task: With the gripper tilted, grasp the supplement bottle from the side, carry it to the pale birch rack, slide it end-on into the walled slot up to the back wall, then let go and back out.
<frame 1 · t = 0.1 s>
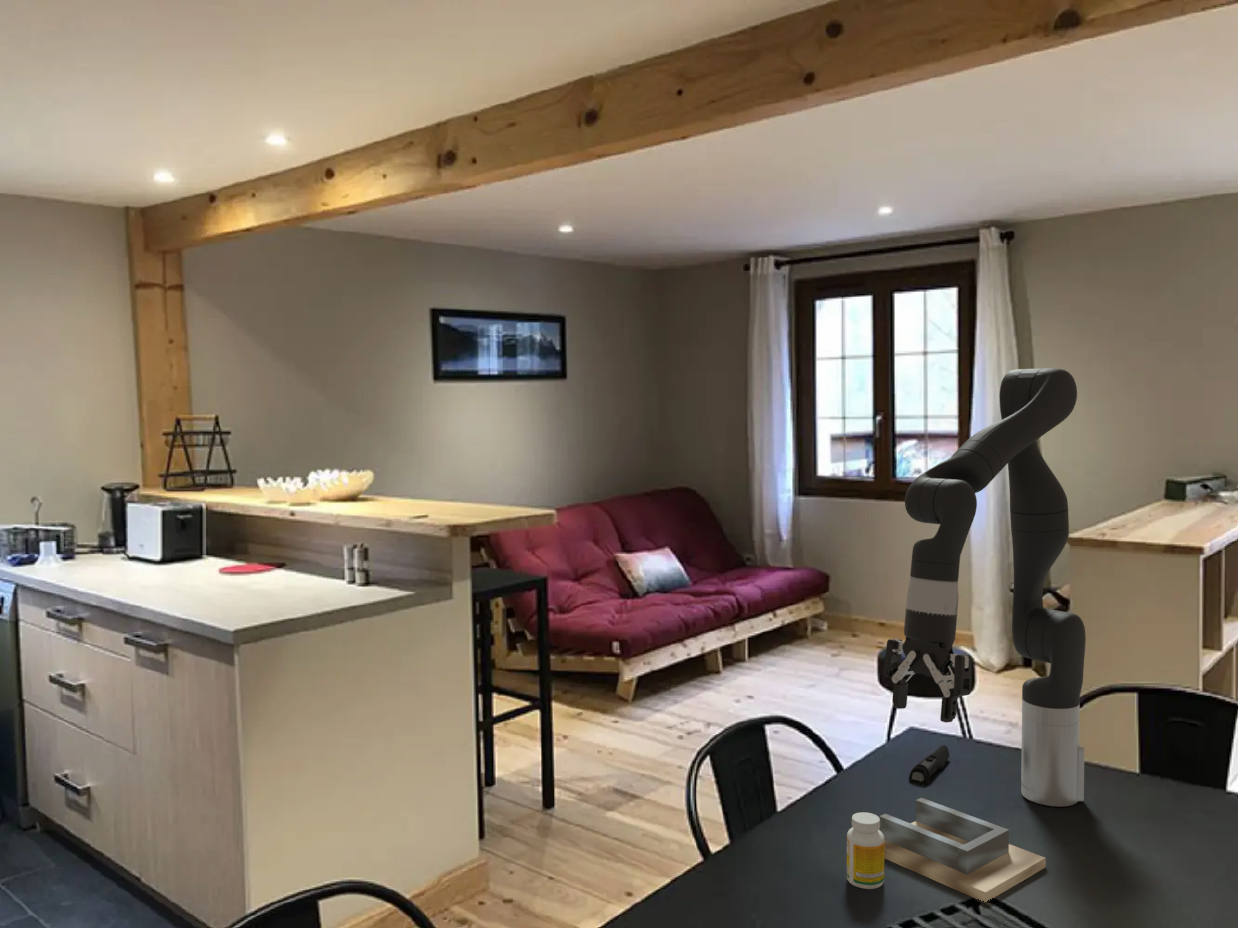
hand: (922, 714, 149), 22 cm above the table, tool pointing down, fingers open, 8 cm apart
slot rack: (955, 859, 149), on the table
electric trimmer: (929, 772, 185), on the table
supplement bottle: (865, 882, 143), on the table
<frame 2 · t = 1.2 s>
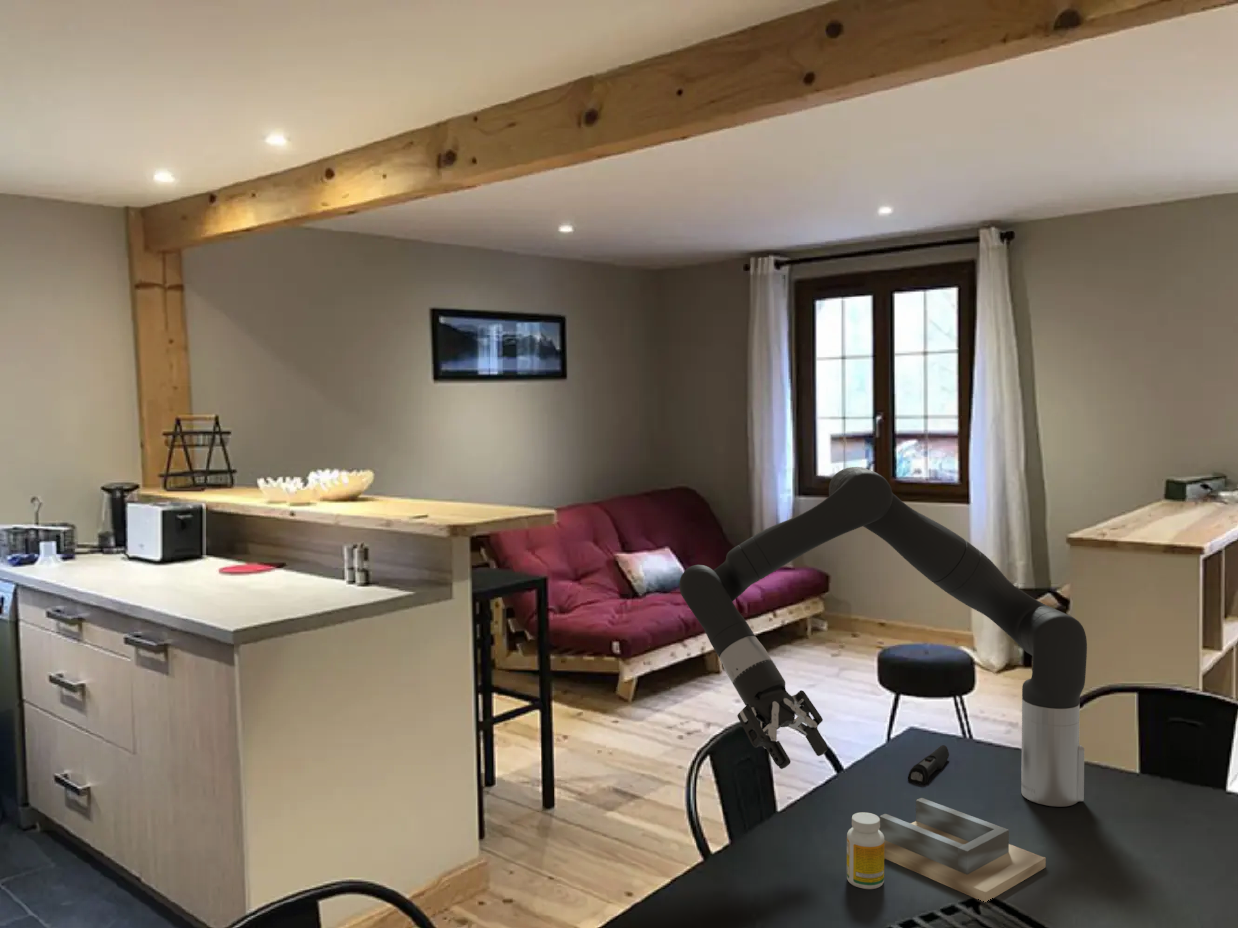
hand: (805, 759, 151), 15 cm above the table, tool tilted 45°, fingers open, 8 cm apart
nothing on the table moved.
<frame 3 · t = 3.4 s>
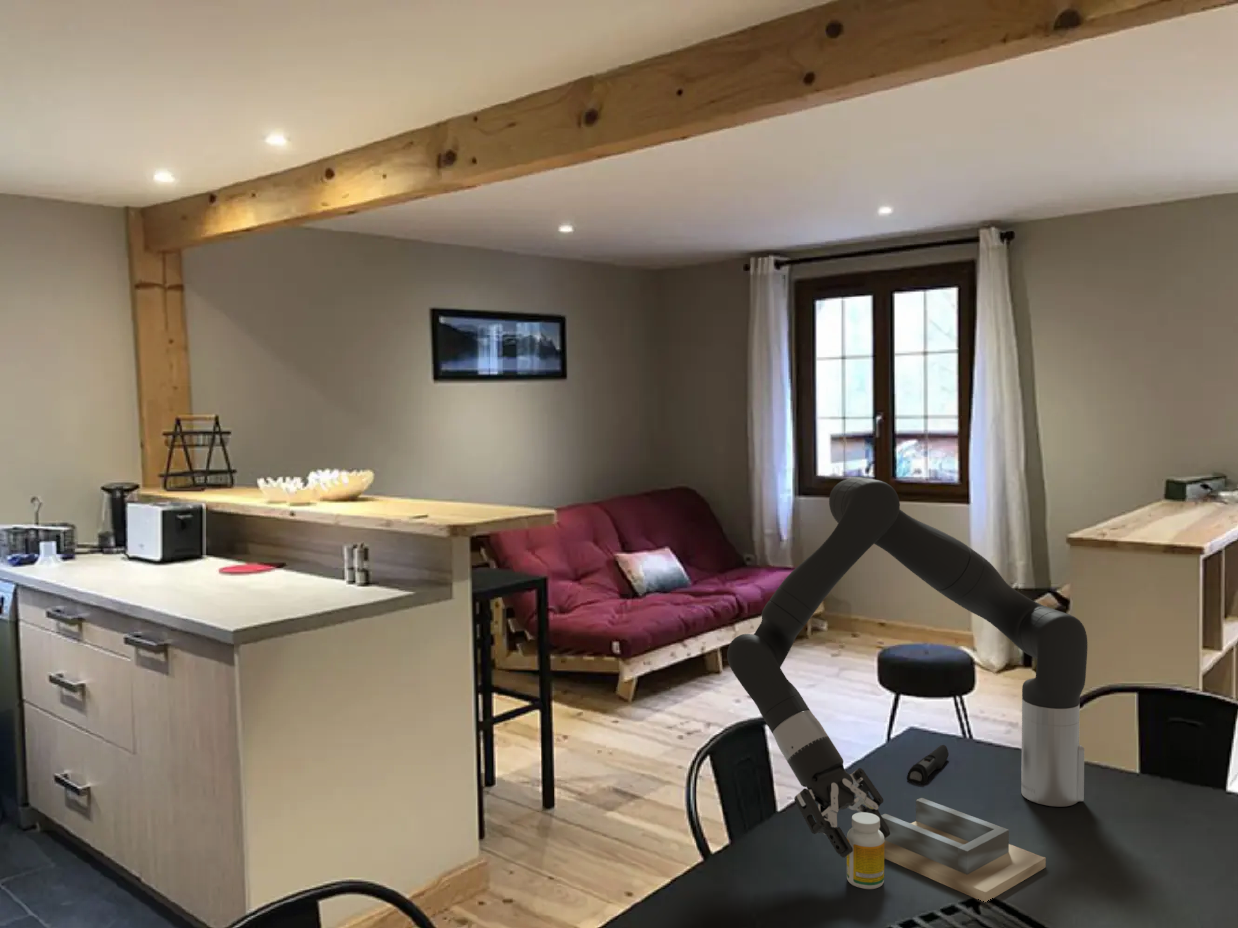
hand: (867, 846, 143), 5 cm above the table, tool tilted 45°, fingers open, 8 cm apart
nothing on the table moved.
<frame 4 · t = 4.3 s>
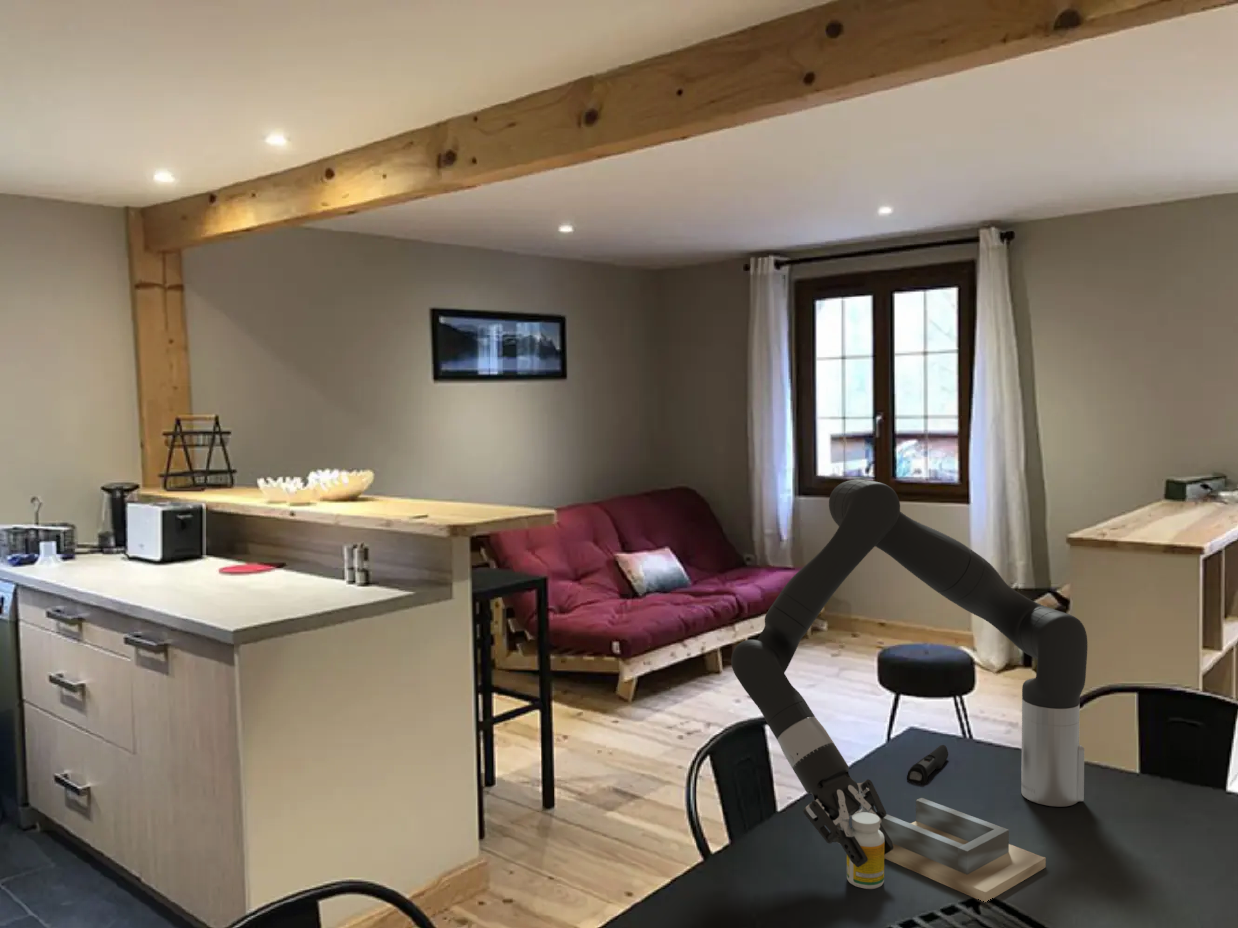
hand: (875, 857, 142), 4 cm above the table, tool tilted 45°, fingers closed on supplement bottle, 5 cm apart
supplement bottle: (865, 882, 143), on the table, touching gripper
everything else where it was.
when the fingers open (7 cm above the table, at t = 13.1 s): supplement bottle drops 1 cm, resting on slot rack.
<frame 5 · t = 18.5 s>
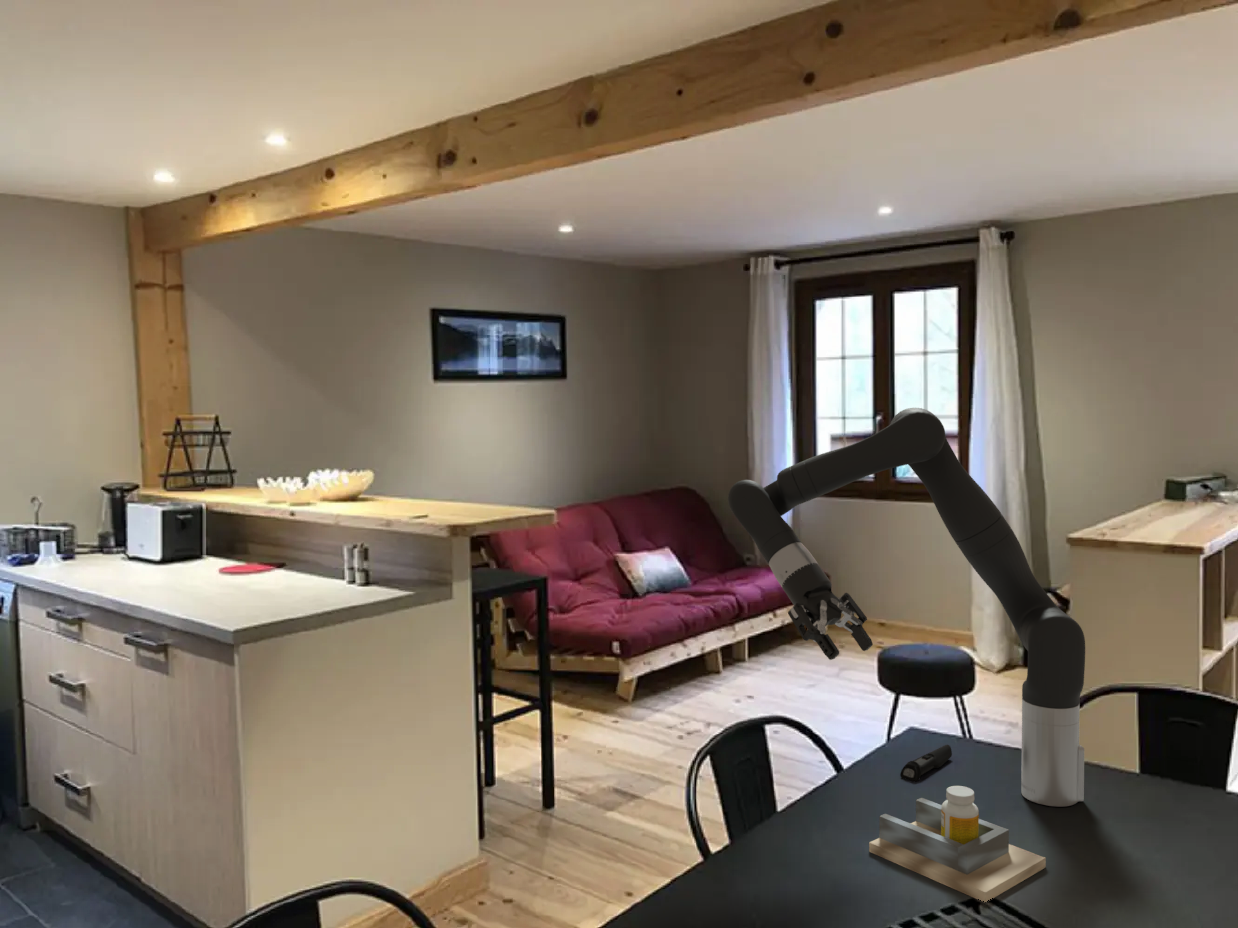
hand: (852, 652, 162), 29 cm above the table, tool tilted 45°, fingers open, 8 cm apart
supplement bottle: (959, 853, 149), point 1 cm above the table, touching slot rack
at the end: supplement bottle 0.5 cm off-centre on the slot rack, point 1.3 cm above the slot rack's base; supplement bottle tilted 0°; the gripper is holding nothing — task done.
